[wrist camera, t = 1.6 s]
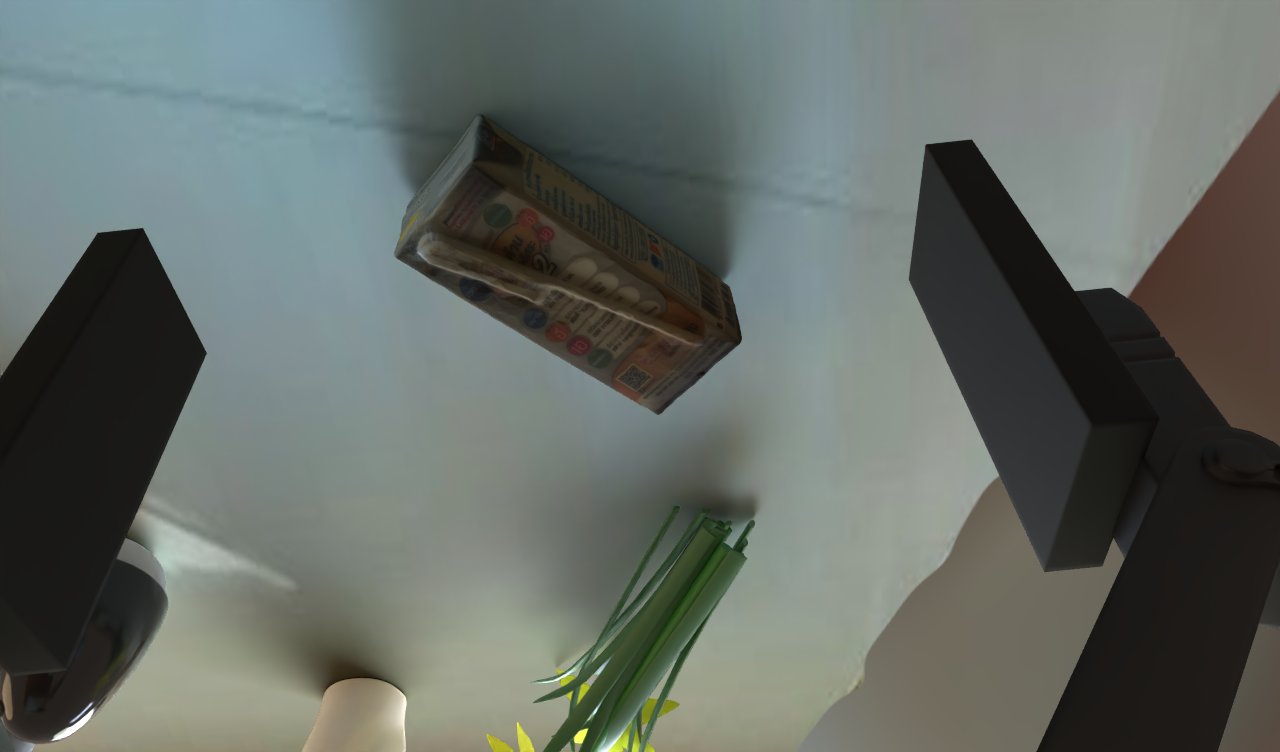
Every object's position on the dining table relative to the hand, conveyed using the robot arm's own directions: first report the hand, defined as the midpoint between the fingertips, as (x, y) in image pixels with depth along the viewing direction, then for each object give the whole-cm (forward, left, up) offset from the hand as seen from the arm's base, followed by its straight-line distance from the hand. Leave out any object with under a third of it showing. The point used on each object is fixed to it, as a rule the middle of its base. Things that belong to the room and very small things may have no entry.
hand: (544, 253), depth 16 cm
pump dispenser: (+61, +18, -34) cm, 72 cm away
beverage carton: (+14, +18, -34) cm, 41 cm away
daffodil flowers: (+35, +49, -34) cm, 69 cm away
